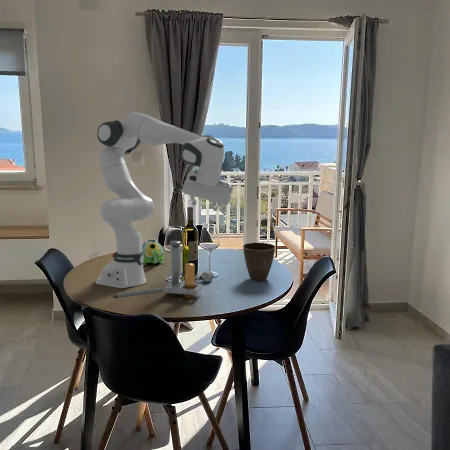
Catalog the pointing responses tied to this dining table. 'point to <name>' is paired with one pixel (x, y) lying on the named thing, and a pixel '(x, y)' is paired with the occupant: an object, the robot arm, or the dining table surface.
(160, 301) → the dining table surface
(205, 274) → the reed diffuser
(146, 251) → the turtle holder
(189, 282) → the wedge pin
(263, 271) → the plant pot
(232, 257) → the dining table surface
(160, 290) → the gray half cylinder
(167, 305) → the dining table surface
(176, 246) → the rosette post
